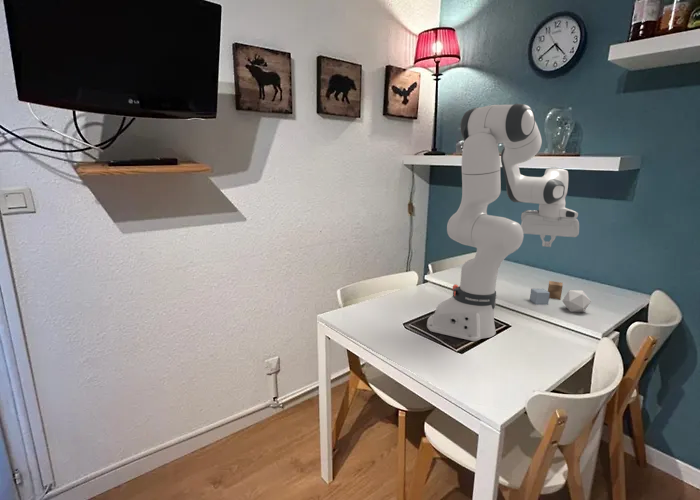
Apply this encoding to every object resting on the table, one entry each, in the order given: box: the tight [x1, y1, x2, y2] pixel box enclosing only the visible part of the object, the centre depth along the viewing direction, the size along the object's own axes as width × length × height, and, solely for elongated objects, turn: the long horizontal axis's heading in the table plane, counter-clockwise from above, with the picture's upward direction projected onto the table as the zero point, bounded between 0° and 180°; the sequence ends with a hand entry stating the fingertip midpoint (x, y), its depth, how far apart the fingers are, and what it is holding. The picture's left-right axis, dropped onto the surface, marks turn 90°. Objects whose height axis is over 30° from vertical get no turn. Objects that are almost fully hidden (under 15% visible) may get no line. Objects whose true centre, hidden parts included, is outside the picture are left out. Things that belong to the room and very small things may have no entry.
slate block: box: [529, 288, 550, 305], centre depth 158 cm, size 5×5×5 cm
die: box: [561, 289, 592, 313], centre depth 149 cm, size 8×9×10 cm
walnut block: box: [547, 280, 564, 301], centre depth 164 cm, size 5×5×6 cm
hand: (546, 246), depth 153 cm, fingers closed
